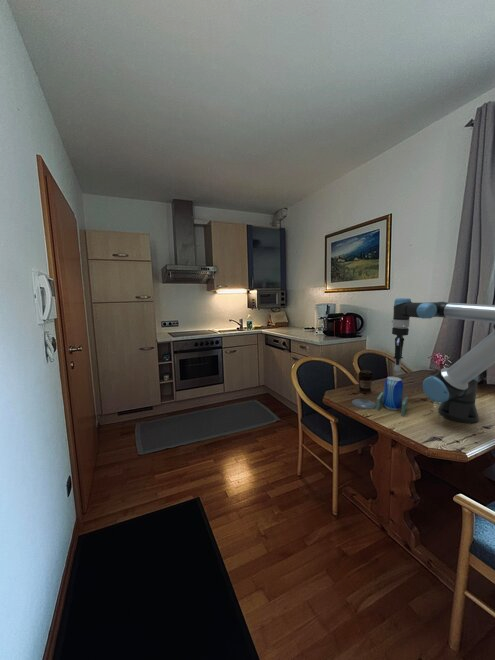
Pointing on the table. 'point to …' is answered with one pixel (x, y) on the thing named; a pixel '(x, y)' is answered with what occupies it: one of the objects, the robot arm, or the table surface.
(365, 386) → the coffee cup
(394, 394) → the beer can
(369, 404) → the flat grey disc
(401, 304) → the robot arm
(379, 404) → the rack
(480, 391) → the table surface
